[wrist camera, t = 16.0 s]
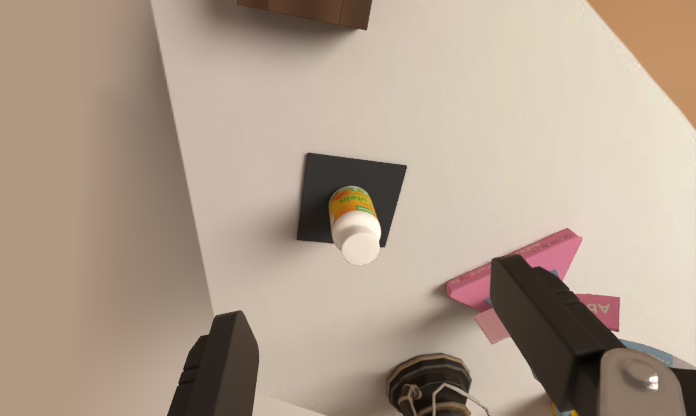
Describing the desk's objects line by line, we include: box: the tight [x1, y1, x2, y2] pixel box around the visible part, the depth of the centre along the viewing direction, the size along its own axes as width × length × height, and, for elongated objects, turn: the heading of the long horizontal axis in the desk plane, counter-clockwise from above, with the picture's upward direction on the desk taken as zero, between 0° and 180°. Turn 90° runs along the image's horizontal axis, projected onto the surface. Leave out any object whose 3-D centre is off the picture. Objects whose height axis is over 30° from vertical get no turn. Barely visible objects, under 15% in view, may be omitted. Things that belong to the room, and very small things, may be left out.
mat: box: [297, 153, 407, 247], centre depth 43 cm, size 12×12×1 cm
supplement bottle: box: [329, 186, 381, 265], centre depth 39 cm, size 5×5×10 cm
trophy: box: [445, 228, 696, 416], centre depth 42 cm, size 20×17×30 cm
